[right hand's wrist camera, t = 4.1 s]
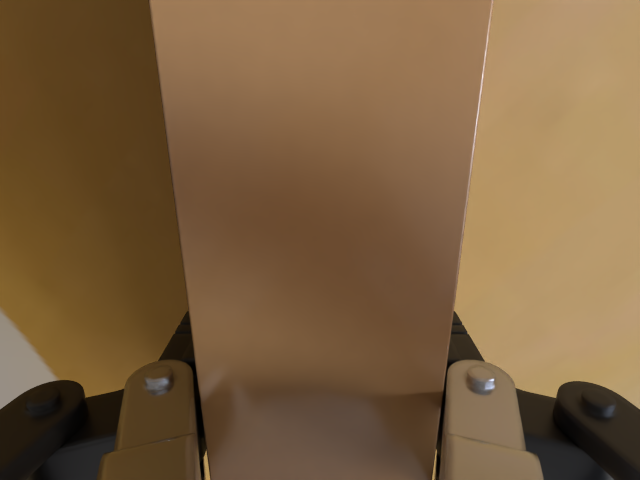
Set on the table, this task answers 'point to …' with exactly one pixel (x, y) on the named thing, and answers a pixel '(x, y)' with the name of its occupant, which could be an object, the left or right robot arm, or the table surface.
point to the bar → (321, 222)
